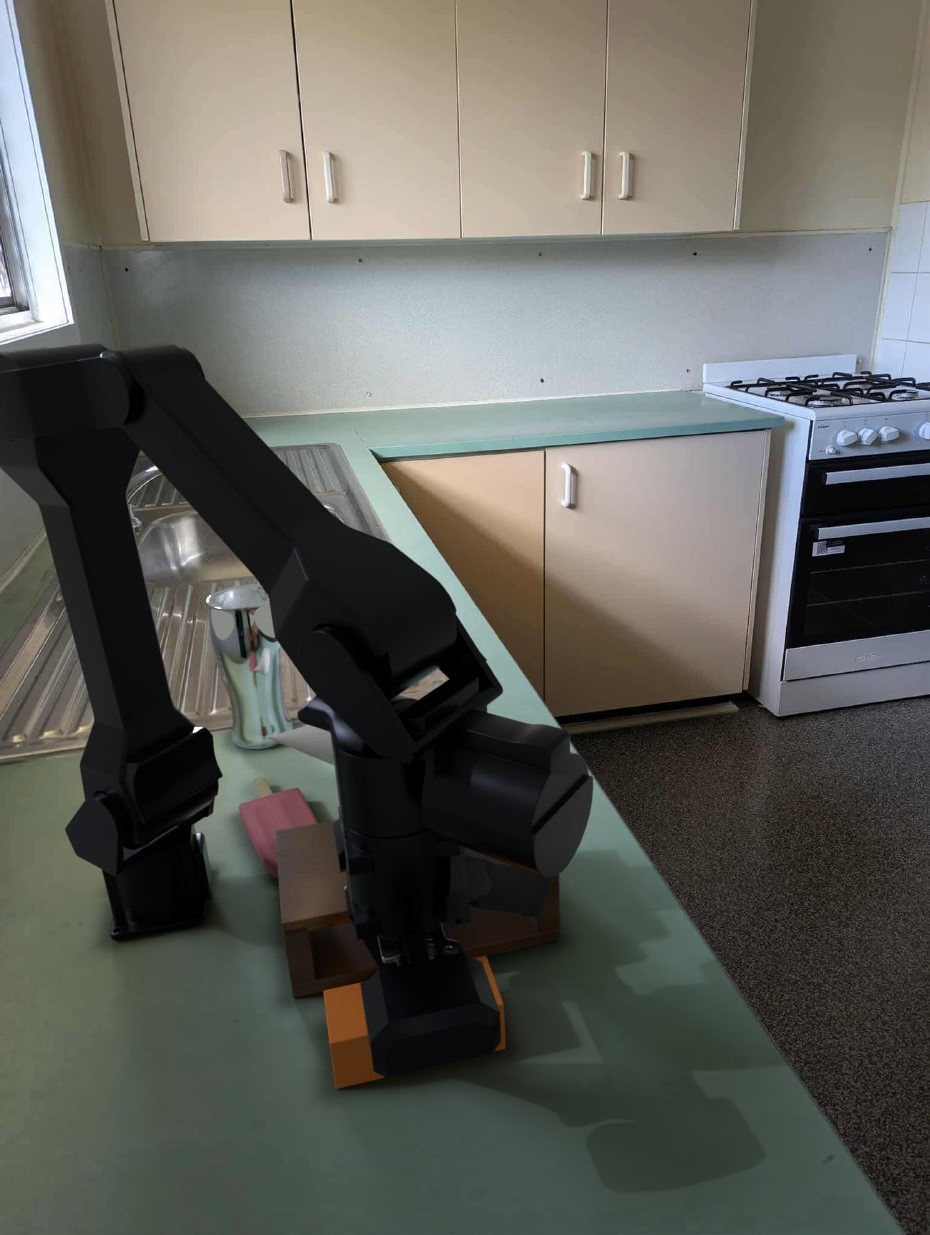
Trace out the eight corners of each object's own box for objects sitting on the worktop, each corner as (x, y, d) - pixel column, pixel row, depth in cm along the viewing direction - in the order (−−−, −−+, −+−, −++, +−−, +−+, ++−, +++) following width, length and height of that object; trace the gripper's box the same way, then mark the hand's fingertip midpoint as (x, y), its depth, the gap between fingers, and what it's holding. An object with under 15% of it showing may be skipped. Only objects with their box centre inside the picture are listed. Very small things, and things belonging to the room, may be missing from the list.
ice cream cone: (265, 776, 81) (426, 782, 83) (261, 766, 75) (435, 773, 77) (270, 711, 82) (428, 718, 85) (267, 696, 77) (436, 705, 79)
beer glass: (214, 746, 87) (188, 605, 81) (253, 714, 93) (232, 580, 87) (274, 756, 84) (252, 612, 78) (311, 723, 90) (293, 586, 84)
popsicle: (285, 763, 80) (337, 851, 67) (287, 778, 80) (339, 868, 68) (227, 779, 78) (268, 873, 65) (229, 794, 78) (271, 890, 66)
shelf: (293, 998, 56) (281, 923, 54) (285, 898, 65) (275, 830, 63) (560, 941, 59) (559, 868, 57) (517, 853, 69) (515, 788, 66)
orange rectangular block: (336, 1089, 49) (329, 1043, 48) (329, 1034, 53) (323, 990, 52) (505, 1049, 51) (503, 1003, 50) (488, 998, 55) (486, 955, 54)
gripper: (605, 888, 39) (602, 1134, 45) (494, 705, 56) (503, 900, 62) (358, 939, 37) (388, 1191, 43) (321, 732, 54) (346, 932, 60)
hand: (415, 1028), depth 52 cm, fingers closed on orange rectangular block, 4 cm apart
